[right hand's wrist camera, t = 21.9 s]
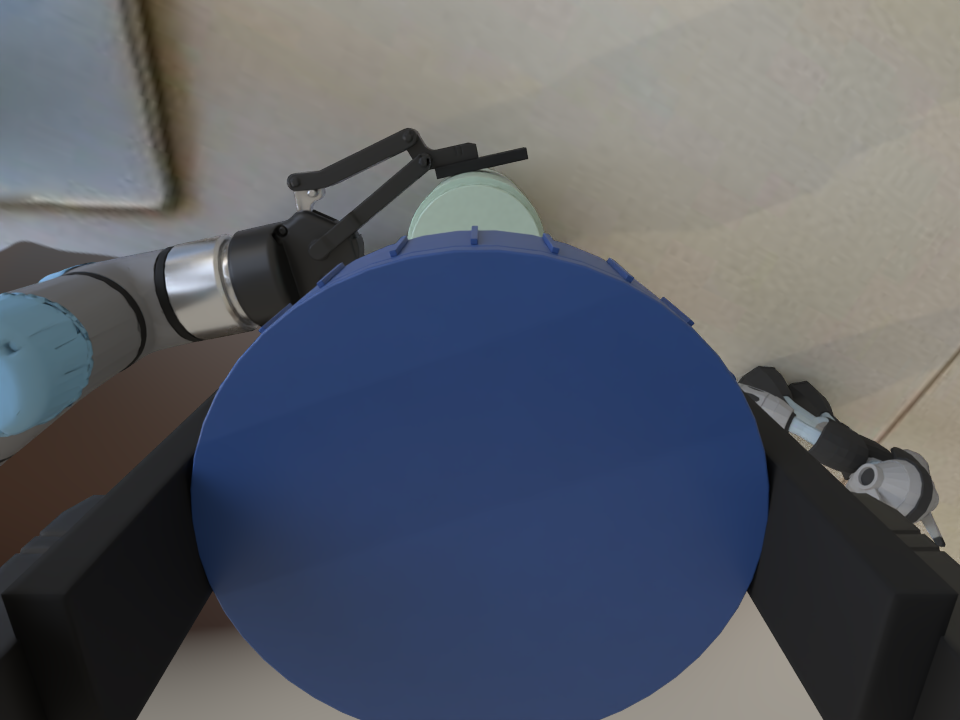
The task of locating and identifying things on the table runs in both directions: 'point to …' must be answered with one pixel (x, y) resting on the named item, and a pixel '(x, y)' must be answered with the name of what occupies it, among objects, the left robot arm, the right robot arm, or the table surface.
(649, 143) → the table surface
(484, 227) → the jar
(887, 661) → the right robot arm
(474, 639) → the lid
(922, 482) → the robot
